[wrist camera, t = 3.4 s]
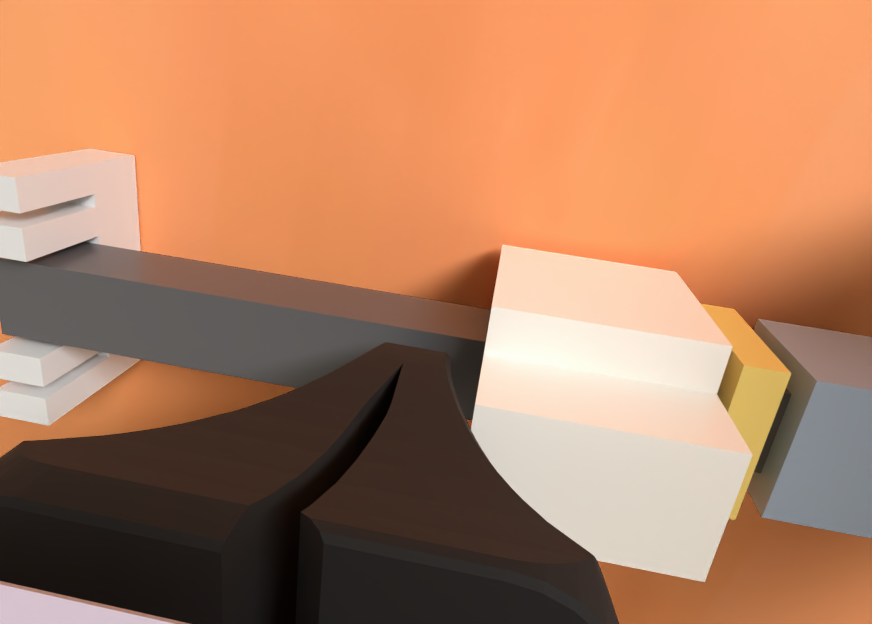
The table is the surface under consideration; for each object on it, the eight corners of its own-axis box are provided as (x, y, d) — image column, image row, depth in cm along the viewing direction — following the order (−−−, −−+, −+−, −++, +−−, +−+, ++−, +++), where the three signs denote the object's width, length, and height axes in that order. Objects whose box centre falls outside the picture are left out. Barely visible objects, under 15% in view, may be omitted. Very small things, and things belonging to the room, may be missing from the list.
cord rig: (880, 268, 14) (1015, 341, 10) (794, 473, 16) (879, 600, 12) (89, 148, 15) (-56, 171, 11) (107, 348, 17) (-11, 423, 14)
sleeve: (676, 271, 14) (774, 400, 8) (631, 428, 15) (688, 623, 10) (502, 244, 14) (484, 349, 9) (476, 399, 16) (446, 573, 10)
